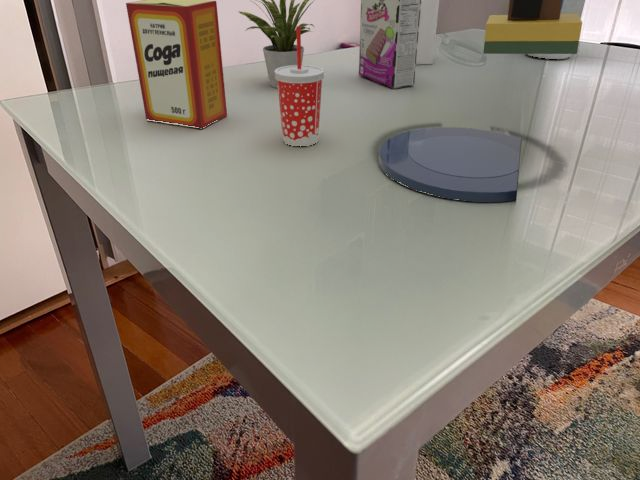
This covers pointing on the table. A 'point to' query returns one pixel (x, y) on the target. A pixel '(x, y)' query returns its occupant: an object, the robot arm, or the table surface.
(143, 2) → the baking soda box
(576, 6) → the supplement tub
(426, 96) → the table surface
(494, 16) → the sponge
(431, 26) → the milk
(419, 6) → the candy bar box
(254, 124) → the table surface
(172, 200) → the table surface
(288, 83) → the beverage cup
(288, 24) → the house plant
